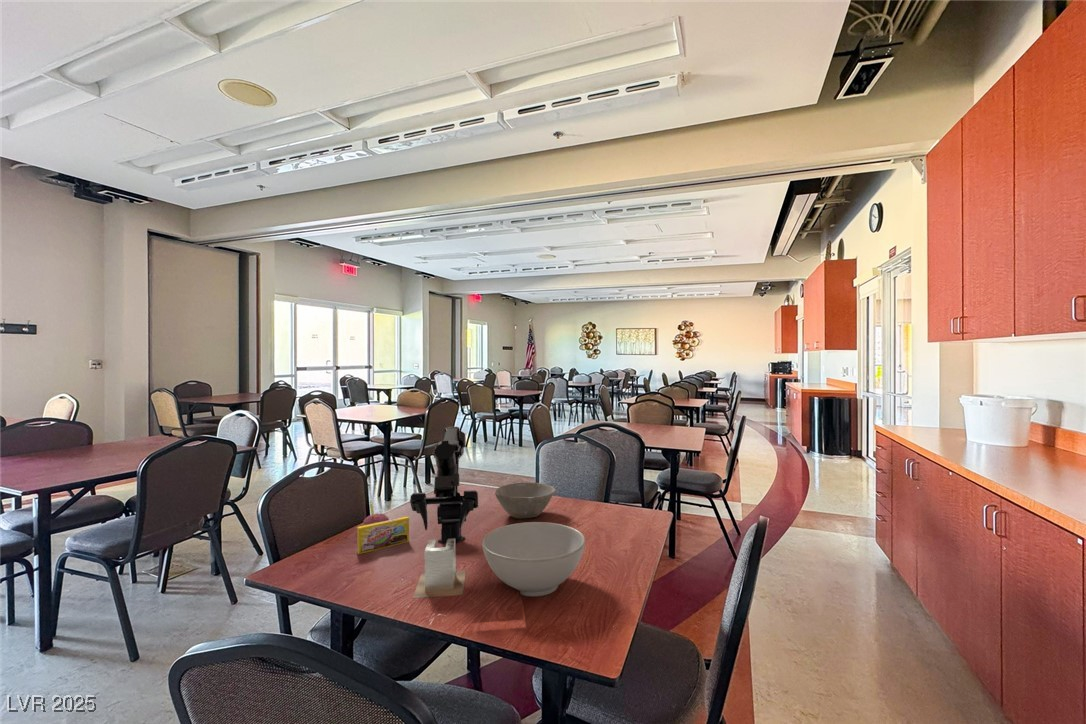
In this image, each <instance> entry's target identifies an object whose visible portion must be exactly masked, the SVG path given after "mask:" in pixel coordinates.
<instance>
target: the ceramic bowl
mask: <svg viewBox="0 0 1086 724" xmlns="http://www.w3.org/2000/svg"><path fill="white" fill-rule="evenodd" d="M555 492H556V488H555V487H554V486H553V485H550V484H546V483H540V482H514V483H513V482H512V483H508V484H504V485H501V486H499V487H497V488H496V489H495V490H494V495H495V497H496V500H497V501H498V503H499V504H500V506H501V508H503V510H504V511H505V512H506V513H507V514H508V515H509V516H511V517H512V518H514V519H522V520H523V519H532V518H537V517H538V516H539V515H541V514H542V513H543V511H544V510H545V509H546V507H547V506H548V504H549V503H550V501H551V499H552V497H553V495H554V493H555Z"/></svg>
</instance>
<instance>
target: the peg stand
mask: <svg viewBox="0 0 1086 724" xmlns="http://www.w3.org/2000/svg"><path fill="white" fill-rule="evenodd" d="M466 572H467V571H466V570H456V578H455V584H454V589H453V590H443V591H428V592H425V572H421V573H420V576H419V579H418V582H417V584H416V588H415V591H414V593H413V596H412V599H424V598H436V597H437V598H440V597H452V596H453V597H455V596H463V594H464V588H465V581H466V580H465V579H466Z"/></svg>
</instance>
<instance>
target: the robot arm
mask: <svg viewBox="0 0 1086 724" xmlns="http://www.w3.org/2000/svg"><path fill="white" fill-rule="evenodd" d="M466 443H467V439H466V433H465V432H463V431H462V430H461V429H460V427H459V426H447V427H445V428H444V432H442V433H441V439H440V441H438V443H437V445H436V446H435V447H434V448H435V449H434V450H433V459H435V465H436V467H437V470H436V476H434V486H433V487H434V488H433V494H434V496H430V497H429V496H428V497H427V495H426V492H413V493H412V494H410V499H409V503H410V506H411V510H412V511H413V512H416V513H417V514H419V515H420V516H421V519H422V521H423V526H424V530H425V531H428V509H427V508H428V505H437V508H436V509H437V510H436V512H437V513H436V515H437V525H441V529H440V535H441V537H440V539H438V540H437V542H438V543H443V544H447V540H448V539H454V538H455V545H456V544H457V543H460V542H461V541H463V540H465V539H466V536H464V535H463V536H462V527H463V525H464V523H465V522H467V517H468V515H469V514H470V512H473V511H474V509H477V508H479V495H478V494H479V493H478V491H477V490H475V489H474V490H464V491H463V495H462V494H460V492H459V486H460V470H459V469H460V458H461V457H463V455H464V451H465V450H464V449H465V448H466V446H467V444H466Z"/></svg>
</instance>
